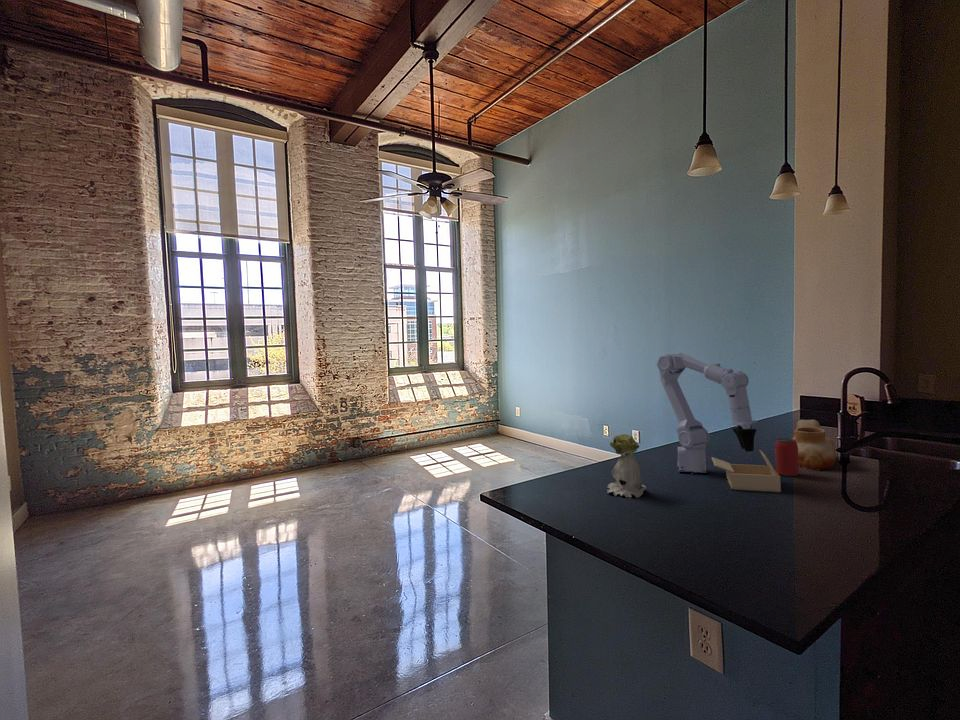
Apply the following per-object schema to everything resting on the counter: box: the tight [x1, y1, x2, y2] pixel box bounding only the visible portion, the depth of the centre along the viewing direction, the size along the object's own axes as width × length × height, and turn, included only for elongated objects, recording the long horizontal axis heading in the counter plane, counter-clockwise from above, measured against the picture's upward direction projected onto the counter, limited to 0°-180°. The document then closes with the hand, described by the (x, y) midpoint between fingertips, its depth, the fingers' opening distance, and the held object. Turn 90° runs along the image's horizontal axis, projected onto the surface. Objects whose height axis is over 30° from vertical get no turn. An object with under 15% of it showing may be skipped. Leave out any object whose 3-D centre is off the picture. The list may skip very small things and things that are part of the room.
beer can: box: [774, 437, 800, 477], centre depth 158 cm, size 7×7×12 cm
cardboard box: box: [725, 463, 782, 493], centre depth 148 cm, size 13×13×5 cm
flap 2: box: [758, 449, 776, 475], centre depth 146 cm, size 6×11×1 cm
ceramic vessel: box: [791, 419, 837, 470], centre depth 172 cm, size 14×26×15 cm, turn 148°
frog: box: [606, 433, 647, 499], centre depth 148 cm, size 12×13×18 cm
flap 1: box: [711, 456, 734, 473], centre depth 151 cm, size 6×11×1 cm, turn 157°
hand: (747, 450), depth 149 cm, fingers open, 7 cm apart
